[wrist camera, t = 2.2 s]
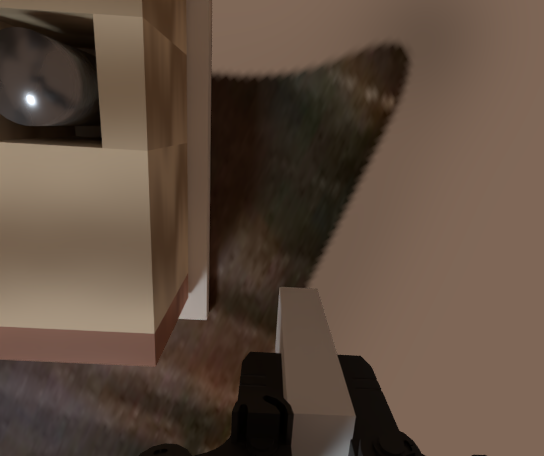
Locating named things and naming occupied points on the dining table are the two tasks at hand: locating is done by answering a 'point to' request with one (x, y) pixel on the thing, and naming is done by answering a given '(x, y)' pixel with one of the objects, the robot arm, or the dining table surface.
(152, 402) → the dining table surface
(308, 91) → the dining table surface
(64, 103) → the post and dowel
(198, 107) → the base board
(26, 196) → the beige block with hole
